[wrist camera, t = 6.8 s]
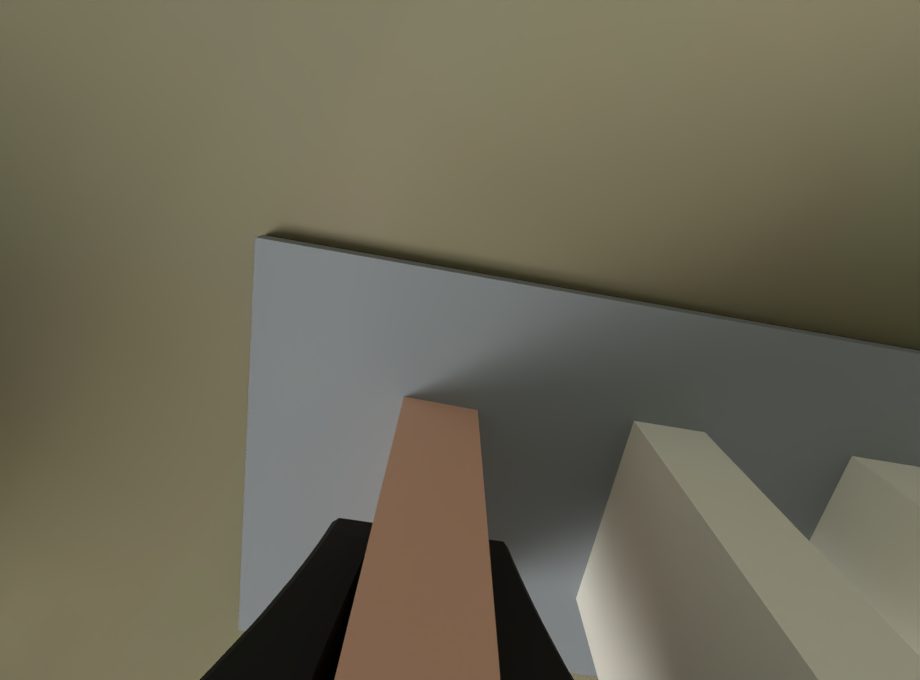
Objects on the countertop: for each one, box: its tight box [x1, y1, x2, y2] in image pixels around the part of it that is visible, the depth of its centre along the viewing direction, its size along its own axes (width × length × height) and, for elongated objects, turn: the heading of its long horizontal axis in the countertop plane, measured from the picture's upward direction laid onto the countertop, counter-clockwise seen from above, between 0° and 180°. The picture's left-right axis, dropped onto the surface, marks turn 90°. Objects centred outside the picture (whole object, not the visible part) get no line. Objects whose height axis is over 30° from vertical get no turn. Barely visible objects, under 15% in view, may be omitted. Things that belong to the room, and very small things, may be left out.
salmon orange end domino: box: [334, 397, 500, 680], centre depth 7 cm, size 5×2×8 cm, turn 168°
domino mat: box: [239, 235, 920, 677], centre depth 12 cm, size 10×29×1 cm, turn 80°
